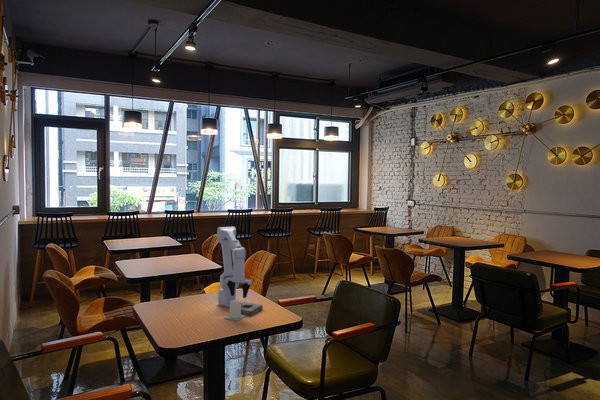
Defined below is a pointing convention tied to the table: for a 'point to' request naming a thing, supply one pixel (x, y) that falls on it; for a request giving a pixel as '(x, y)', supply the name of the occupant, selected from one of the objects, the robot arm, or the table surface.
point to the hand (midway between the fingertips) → (238, 296)
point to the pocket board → (250, 308)
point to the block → (235, 308)
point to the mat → (234, 318)
